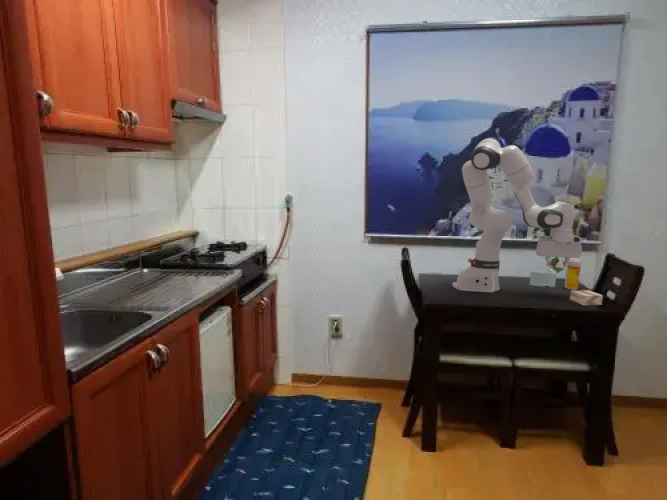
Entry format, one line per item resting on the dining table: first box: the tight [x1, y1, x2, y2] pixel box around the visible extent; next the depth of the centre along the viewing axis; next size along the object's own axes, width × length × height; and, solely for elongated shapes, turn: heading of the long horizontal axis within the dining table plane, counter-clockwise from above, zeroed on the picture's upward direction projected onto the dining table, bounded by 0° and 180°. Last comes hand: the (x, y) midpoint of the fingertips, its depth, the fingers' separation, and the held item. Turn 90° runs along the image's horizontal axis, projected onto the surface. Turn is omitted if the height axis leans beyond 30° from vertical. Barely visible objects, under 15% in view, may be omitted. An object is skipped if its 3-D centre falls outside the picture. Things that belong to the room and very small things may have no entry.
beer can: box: [564, 258, 582, 291], centre depth 237 cm, size 6×6×15 cm
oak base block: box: [569, 289, 604, 306], centre depth 213 cm, size 9×9×4 cm
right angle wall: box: [529, 267, 558, 288], centre depth 246 cm, size 12×12×8 cm
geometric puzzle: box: [548, 257, 565, 274], centre depth 220 cm, size 7×7×8 cm
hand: (556, 266), depth 221 cm, fingers closed on geometric puzzle, 6 cm apart
